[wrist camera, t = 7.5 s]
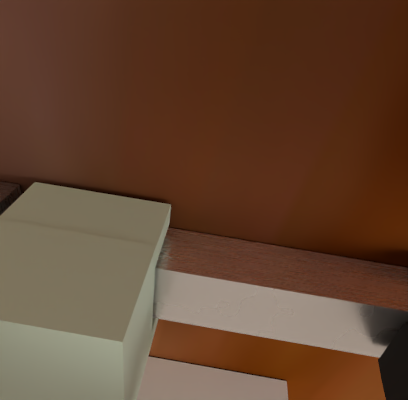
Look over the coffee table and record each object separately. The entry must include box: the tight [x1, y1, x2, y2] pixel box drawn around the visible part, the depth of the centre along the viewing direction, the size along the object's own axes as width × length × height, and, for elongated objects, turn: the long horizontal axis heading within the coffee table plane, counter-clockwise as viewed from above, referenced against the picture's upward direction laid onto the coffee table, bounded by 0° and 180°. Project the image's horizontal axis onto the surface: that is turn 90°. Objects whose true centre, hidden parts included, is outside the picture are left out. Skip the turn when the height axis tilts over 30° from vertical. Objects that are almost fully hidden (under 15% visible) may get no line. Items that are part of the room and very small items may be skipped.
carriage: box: [0, 182, 171, 400], centre depth 11 cm, size 5×5×5 cm
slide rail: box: [0, 181, 408, 358], centre depth 11 cm, size 16×4×4 cm, turn 83°
